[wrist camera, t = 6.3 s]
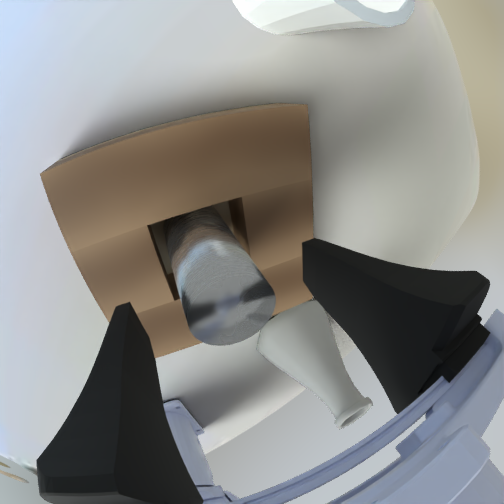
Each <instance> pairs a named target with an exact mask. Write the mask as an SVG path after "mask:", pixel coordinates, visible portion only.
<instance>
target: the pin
mask: <svg viewBox="0 0 504 504" xmlns="http://www.w3.org/2000/svg"><path fill="white" fill-rule="evenodd" d="M163 231H164V236H165V241H166V245H167V249H168V254H169V258H170V262H171V266H172V270H173V274H174V278H175V281H176V285H177V289H178V292H179V296H180V300H181V303H182V307H183V310H184V314H185V317H186V320H187V324H188V327H189V330H190V332H191V333H192V334H193V336H194V337H195V338H197V339H198V340H200V341H201V342H204V343H206V344H210V345H230V344H234V343H237V342H240V341H243V340H245V339H247V338H249V337H251V336H252V335H254V334H255V333H257V332H258V331H259V330H260V329H262V328H263V327H264V326H265V324H266V323H267V322H268V321H269V319H270V318H271V316H272V314H273V312H274V309H275V304H276V296H275V293H274V290H273V288H272V287H271V285H270V284H269V283H268V281H267V280H266V279H265V277H264V276H263V274H262V273H261V272H260V270H259V269H258V267H257V266H256V265H255V263H254V262H253V260H252V259H251V258H250V256H249V255H248V254H247V252H246V251H245V249H244V248H243V247H242V245H241V244H240V242H239V241H238V240H237V238H236V237H235V235H234V234H233V233H232V231H231V230H230V228H229V227H228V226H227V224H226V223H225V222H224V220H223V219H222V217H221V216H220V215H219V213H218V212H217V210H216V209H215V208H214V207H213V206H212V205H211V206H207V207H204V208H201V209H197V210H194V211H191V212H187V213H184V214H181V215H178V216H174V217H171V218H168V219H165V221H164V226H163Z"/></svg>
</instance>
